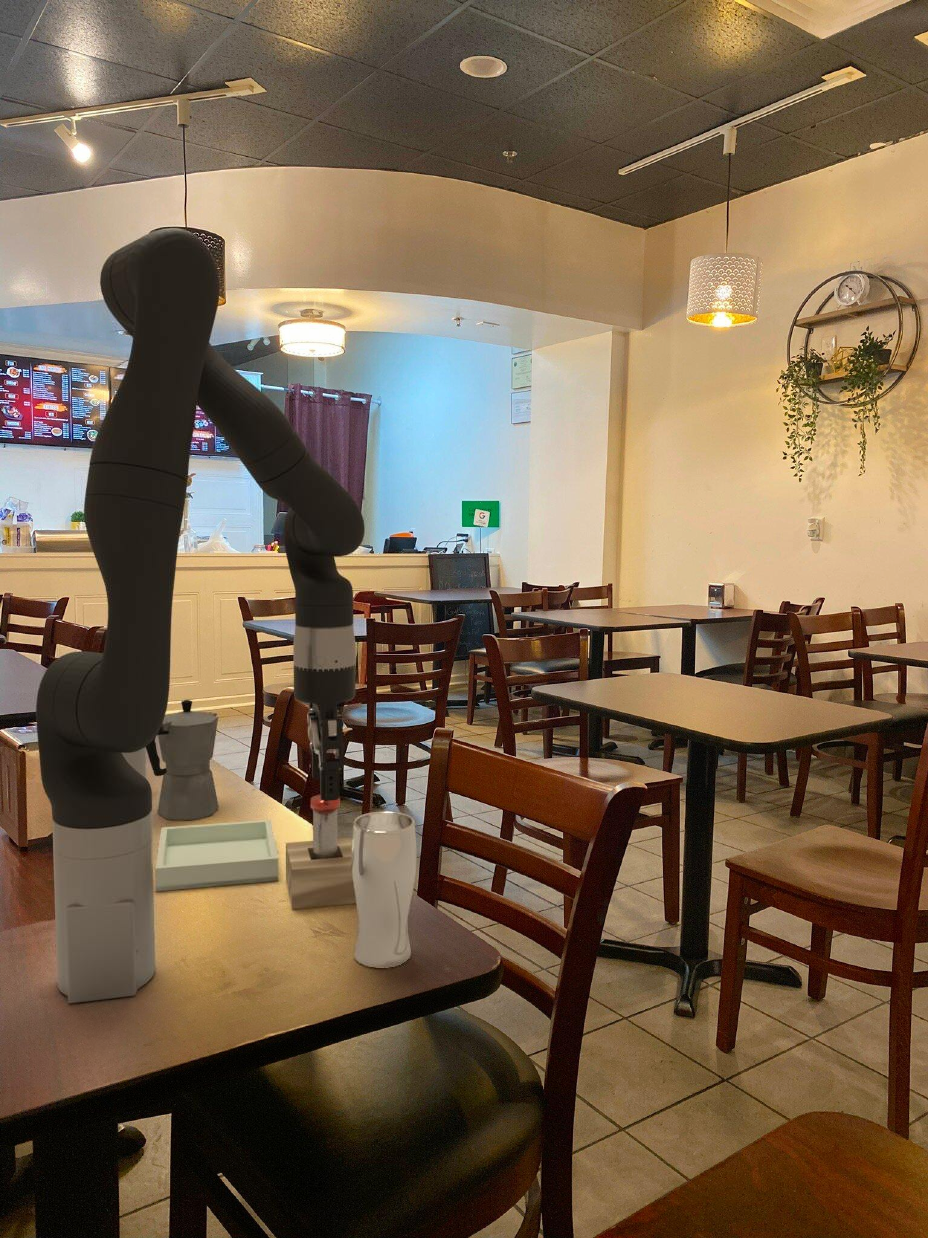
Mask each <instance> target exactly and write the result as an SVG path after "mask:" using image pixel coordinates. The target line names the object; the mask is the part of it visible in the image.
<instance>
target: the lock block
mask: <svg viewBox="0 0 928 1238" xmlns="http://www.w3.org/2000/svg"><path fill="white" fill-rule="evenodd" d="M351 846H352V837H344V838H342V837H341V838H337V858H328V859H317V860H313V840H304V841H292V842H291V841H290V842H285V882H286V886H287V887H286V888H287V891H288V892H287V893H288V896H289V901H290V907H291V910H302V909H310V908H321V907H322V908H323V907H331V906H332V907H333V906H341V905H342V906H343V905H350V904H351V905H352V904H356V901H355V895H354V889H353V883H352V874H351Z"/></svg>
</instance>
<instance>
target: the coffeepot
mask: <svg viewBox="0 0 928 1238" xmlns="http://www.w3.org/2000/svg"><path fill="white" fill-rule="evenodd" d="M180 703H181V707H182V711H178V712H174V713H169V714H165V717H164V720H163V723H162V725H161V728H160V730H159V732H158V733H157V735H156V736H155V738H154V739H153V740H152V742H150V743H149V744H148V745H147V746H146V747H145V751H146V753H147V756H148V759H149V762H150V763H149V764H150V766H151V768H152V772H153V775H154V776H155V777H161V776H162V781H161V789H160V793H159V794H160V795H159V801H158V806H157V814H158V815H159V816H160V817H161V818H163V819H166V820H168V821H176V822H177V821H178V822H181V821H182V822H183V821H185V822H187V821H197V820H201V819H206V818H207V817H211V816H212V815H214V814H216V812H217V810H218V808H220V807H219V802H218V795H217V792H216V791H217V790H216V786H215V780H214V776H213V771H212V770H211V768H210V767H211V766H210V765H211V764H210V763H211V762H210V761H211V760H212V758H213V757H214V749H215V743H216V742H215V741H216V736H217V729H218V728H217V727H218V724H219V723H218V721H219V717H218V713H216V712H211V711H209V712H208V711H193V710H192V705H193V700H190V699H185V700H182V701H181V702H180ZM156 738H158V744H159V749H160V753H161V754H160V755H161V758H160V756H159V754H158V749H157V743H156ZM161 759H162V762H164V763H165V767H164V768H161V765H160V764H161Z"/></svg>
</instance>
